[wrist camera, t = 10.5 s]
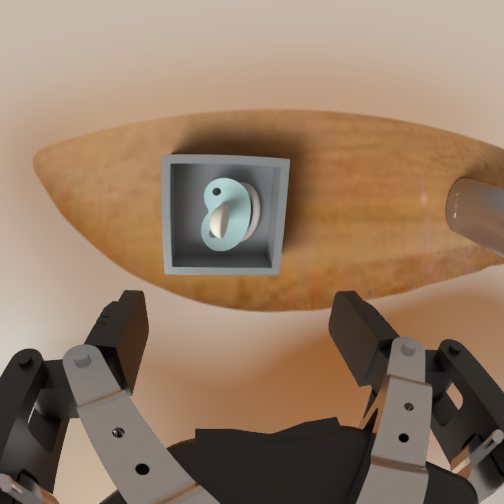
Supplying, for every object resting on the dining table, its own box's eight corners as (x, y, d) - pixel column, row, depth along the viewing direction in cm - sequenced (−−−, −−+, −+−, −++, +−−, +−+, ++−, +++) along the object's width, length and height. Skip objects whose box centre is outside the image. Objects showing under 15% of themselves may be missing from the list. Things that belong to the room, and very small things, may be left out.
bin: (279, 157, 28) (290, 159, 24) (270, 258, 32) (279, 275, 28) (170, 154, 26) (162, 154, 22) (171, 257, 31) (164, 274, 26)
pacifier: (263, 179, 28) (205, 174, 27) (278, 188, 22) (205, 181, 21) (254, 245, 30) (200, 242, 29) (266, 269, 25) (198, 265, 24)
